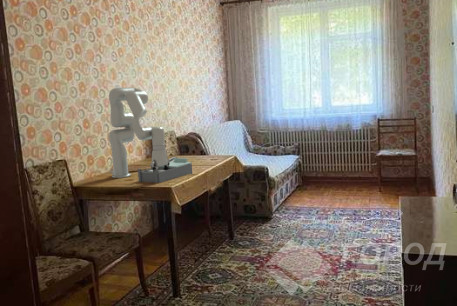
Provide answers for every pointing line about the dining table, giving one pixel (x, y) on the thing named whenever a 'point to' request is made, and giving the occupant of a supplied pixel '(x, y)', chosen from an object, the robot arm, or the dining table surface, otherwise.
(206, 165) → the dining table surface
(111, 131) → the robot arm
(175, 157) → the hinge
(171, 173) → the housing
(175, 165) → the lid
